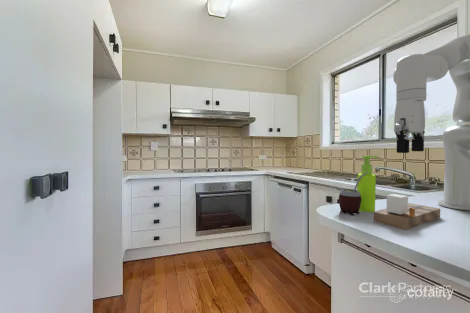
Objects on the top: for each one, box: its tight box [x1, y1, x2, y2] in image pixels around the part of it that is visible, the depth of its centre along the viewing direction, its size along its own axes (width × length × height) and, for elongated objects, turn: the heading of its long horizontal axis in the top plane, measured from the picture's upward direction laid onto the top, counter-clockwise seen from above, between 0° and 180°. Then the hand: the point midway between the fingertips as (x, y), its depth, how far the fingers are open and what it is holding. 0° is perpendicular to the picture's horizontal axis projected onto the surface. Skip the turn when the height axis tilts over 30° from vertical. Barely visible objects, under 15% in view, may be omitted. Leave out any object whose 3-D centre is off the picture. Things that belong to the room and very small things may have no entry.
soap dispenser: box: [356, 155, 380, 213], centre depth 86 cm, size 6×7×20 cm
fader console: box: [372, 202, 441, 231], centre depth 76 cm, size 23×9×6 cm, turn 121°
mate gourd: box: [338, 172, 368, 216], centre depth 82 cm, size 8×8×15 cm
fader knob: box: [385, 193, 409, 214], centre depth 72 cm, size 4×4×5 cm
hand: (410, 152), depth 75 cm, fingers open, 9 cm apart
